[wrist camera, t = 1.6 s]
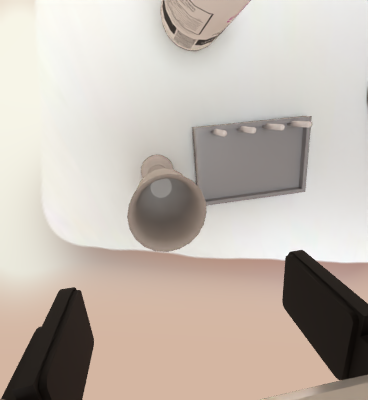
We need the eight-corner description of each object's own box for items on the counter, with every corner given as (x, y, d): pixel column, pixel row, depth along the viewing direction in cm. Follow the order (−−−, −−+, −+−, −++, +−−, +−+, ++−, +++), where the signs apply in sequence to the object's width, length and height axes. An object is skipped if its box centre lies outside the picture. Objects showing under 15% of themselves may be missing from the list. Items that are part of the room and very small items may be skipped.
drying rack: (303, 116, 39) (330, 116, 33) (298, 188, 43) (321, 199, 37) (192, 127, 36) (200, 129, 31) (197, 202, 41) (206, 215, 35)
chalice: (142, 141, 36) (140, 163, 19) (185, 155, 38) (218, 186, 21) (129, 187, 38) (117, 242, 21) (171, 198, 40) (190, 258, 23)
